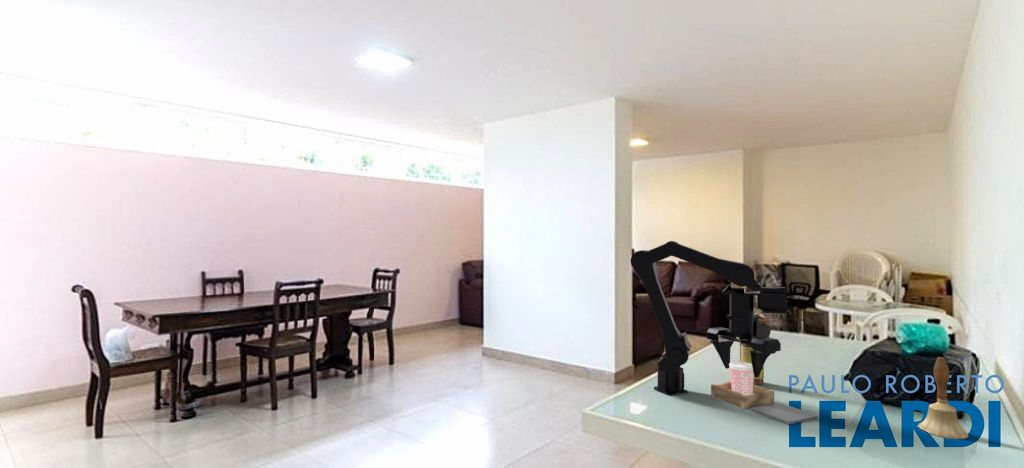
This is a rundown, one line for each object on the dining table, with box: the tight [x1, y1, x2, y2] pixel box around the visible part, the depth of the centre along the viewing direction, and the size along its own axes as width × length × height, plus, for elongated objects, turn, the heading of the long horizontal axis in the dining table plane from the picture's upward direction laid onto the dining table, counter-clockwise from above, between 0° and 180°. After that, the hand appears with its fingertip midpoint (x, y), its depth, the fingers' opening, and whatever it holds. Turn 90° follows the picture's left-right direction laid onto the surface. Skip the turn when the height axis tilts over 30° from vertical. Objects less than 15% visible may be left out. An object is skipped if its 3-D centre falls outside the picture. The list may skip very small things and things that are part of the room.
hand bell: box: [917, 356, 969, 440], centre depth 109 cm, size 8×8×16 cm
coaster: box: [750, 402, 819, 425], centre depth 119 cm, size 10×10×1 cm
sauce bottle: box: [738, 312, 765, 386], centre depth 145 cm, size 7×6×20 cm
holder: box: [710, 381, 775, 409], centre depth 130 cm, size 10×10×3 cm
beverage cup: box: [729, 345, 754, 394], centre depth 130 cm, size 6×6×14 cm
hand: (741, 372), depth 130 cm, fingers open, 9 cm apart
